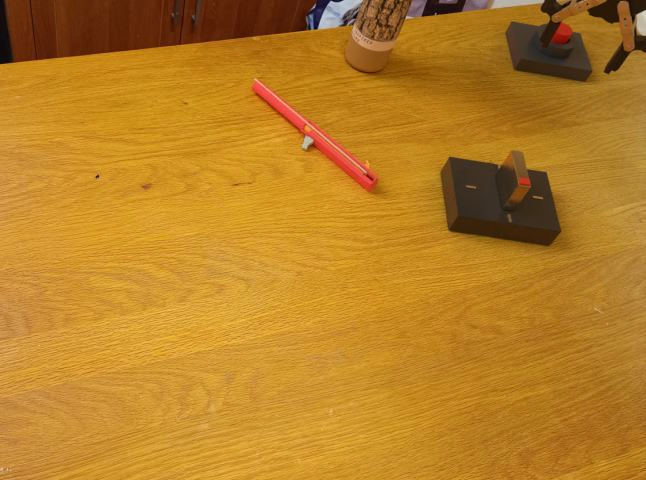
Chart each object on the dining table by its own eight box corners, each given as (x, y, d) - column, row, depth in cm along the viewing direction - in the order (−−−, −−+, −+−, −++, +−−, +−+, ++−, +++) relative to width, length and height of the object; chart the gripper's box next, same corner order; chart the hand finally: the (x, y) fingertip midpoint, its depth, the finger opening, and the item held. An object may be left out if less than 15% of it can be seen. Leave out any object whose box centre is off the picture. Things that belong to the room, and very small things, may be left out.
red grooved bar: (358, 201, 100) (383, 180, 101) (360, 192, 98) (385, 171, 99) (240, 99, 108) (264, 80, 109) (240, 89, 106) (264, 70, 107)
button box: (573, 44, 125) (586, 23, 122) (585, 82, 120) (599, 61, 117) (505, 32, 125) (516, 11, 121) (514, 70, 119) (526, 48, 116)
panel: (535, 187, 105) (547, 171, 102) (549, 246, 99) (562, 230, 96) (440, 172, 104) (449, 155, 101) (448, 230, 98) (458, 214, 95)
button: (564, 33, 120) (570, 23, 119) (568, 46, 118) (575, 37, 117) (543, 29, 120) (549, 19, 119) (547, 42, 118) (553, 33, 117)
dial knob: (495, 174, 101) (512, 148, 97) (506, 176, 101) (524, 150, 97) (501, 209, 97) (519, 183, 93) (513, 211, 97) (532, 185, 93)
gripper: (720, -57, 84) (632, 64, 98) (599, -101, 87) (530, 23, 101) (712, -28, 81) (622, 94, 94) (586, -74, 83) (516, 51, 97)
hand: (575, 57), depth 97 cm, fingers open, 8 cm apart
